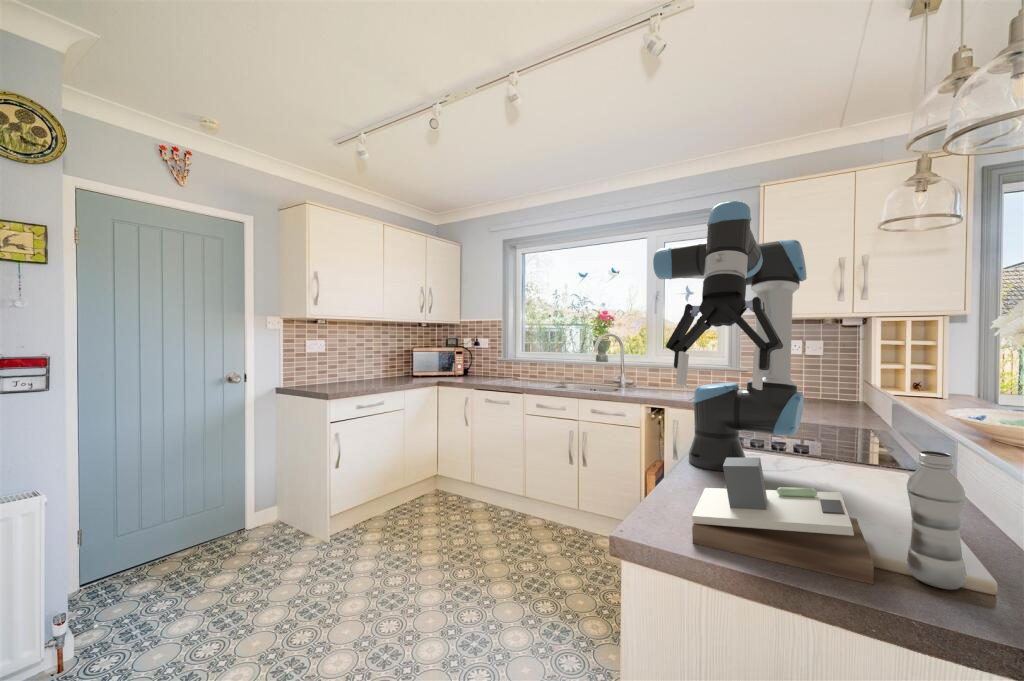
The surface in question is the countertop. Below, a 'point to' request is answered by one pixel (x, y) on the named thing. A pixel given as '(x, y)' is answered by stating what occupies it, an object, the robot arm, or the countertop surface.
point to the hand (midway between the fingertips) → (716, 387)
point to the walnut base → (795, 548)
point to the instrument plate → (769, 504)
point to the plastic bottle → (936, 522)
